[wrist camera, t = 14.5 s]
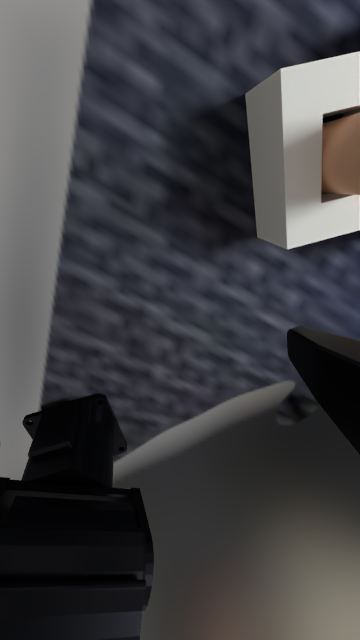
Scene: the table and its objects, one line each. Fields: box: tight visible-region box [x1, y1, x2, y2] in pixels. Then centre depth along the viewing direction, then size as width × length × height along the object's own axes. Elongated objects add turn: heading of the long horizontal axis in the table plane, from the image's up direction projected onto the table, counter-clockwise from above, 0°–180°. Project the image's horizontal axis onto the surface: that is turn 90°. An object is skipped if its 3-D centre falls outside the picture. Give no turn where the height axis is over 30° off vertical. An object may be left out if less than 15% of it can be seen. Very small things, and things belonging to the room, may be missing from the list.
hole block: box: [245, 51, 360, 250], centre depth 16 cm, size 8×8×4 cm
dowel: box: [321, 113, 360, 195], centre depth 15 cm, size 4×4×8 cm
